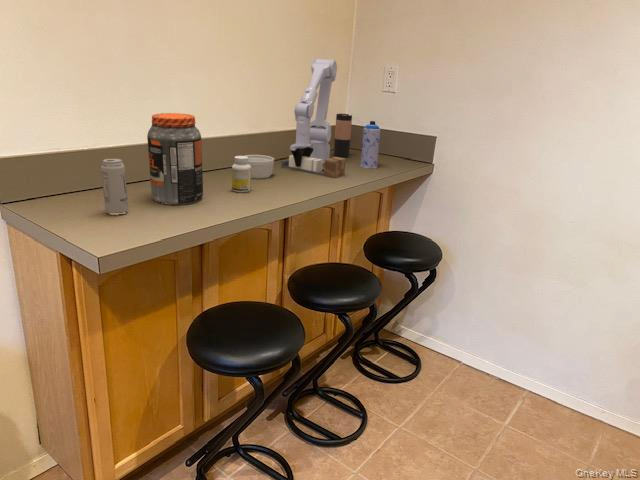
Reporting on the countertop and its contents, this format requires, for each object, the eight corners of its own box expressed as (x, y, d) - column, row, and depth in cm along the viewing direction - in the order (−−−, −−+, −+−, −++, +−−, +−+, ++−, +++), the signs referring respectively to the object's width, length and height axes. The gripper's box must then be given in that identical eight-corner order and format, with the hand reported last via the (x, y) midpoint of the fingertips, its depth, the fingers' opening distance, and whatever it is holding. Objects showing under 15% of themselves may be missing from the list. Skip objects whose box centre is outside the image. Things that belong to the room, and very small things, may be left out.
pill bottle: (243, 187, 171) (243, 154, 167) (254, 191, 167) (255, 157, 163) (228, 189, 167) (227, 156, 163) (239, 193, 163) (239, 159, 159)
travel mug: (332, 157, 233) (335, 114, 226) (334, 154, 241) (337, 113, 234) (348, 158, 232) (351, 115, 225) (349, 155, 240) (353, 114, 233)
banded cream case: (295, 165, 209) (295, 154, 207) (322, 171, 202) (322, 159, 200) (288, 167, 205) (289, 155, 204) (316, 173, 198) (316, 160, 197)
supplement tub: (149, 193, 157) (144, 111, 148) (199, 191, 163) (196, 112, 154) (153, 207, 143) (147, 118, 134) (207, 204, 149) (205, 118, 140)
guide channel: (291, 164, 212) (291, 158, 211) (333, 173, 201) (334, 167, 200) (281, 167, 206) (281, 161, 205) (324, 175, 195) (324, 169, 194)
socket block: (334, 172, 201) (335, 156, 199) (344, 175, 199) (345, 158, 196) (323, 176, 195) (324, 159, 192) (334, 178, 192) (335, 161, 190)
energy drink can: (127, 215, 135) (123, 162, 130) (104, 216, 133) (99, 162, 128) (129, 209, 140) (125, 158, 135) (106, 210, 139) (101, 158, 133)
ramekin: (251, 181, 180) (252, 162, 178) (233, 174, 190) (232, 156, 187) (280, 177, 189) (280, 159, 186) (261, 170, 198) (261, 153, 195)
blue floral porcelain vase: (361, 164, 222) (365, 119, 215) (378, 165, 220) (383, 121, 213) (358, 167, 215) (362, 121, 208) (375, 169, 213) (380, 122, 206)
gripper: (300, 135, 192) (299, 169, 197) (320, 132, 203) (318, 164, 208) (286, 133, 195) (285, 166, 200) (307, 130, 207) (305, 162, 212)
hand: (301, 165), depth 204 cm, fingers closed on banded cream case, 4 cm apart
